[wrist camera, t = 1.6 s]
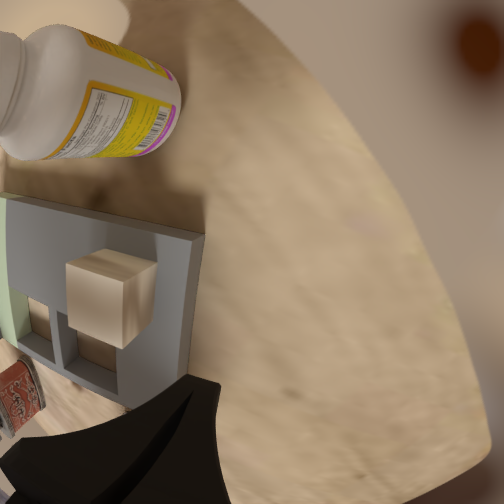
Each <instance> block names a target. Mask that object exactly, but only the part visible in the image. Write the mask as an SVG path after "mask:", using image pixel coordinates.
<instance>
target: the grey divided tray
mask: <svg viewBox="0 0 504 504" xmlns="http://www.w3.org/2000/svg"><path fill="white" fill-rule="evenodd" d="M204 239H205V234H201V233H197V232H192V231H187V230H183V229H178V228H174V227H169V226H164V225H160V224H155V223H150V222H146V221H141V220H136V219H132V218H127V217H122V216H118V215H113V214H108V213H103V212H99V211H94V210H89V209H85V208H80V207H75V206H70V205H65V204H61V203H56V202H51V201H46V200H41V199H37V198H32V197H27V196H22V195H17V194H12V193H7V192H0V339H1V338H3V339H5V340H6V341H8V342H9V343H11V344H12V345H14V346H15V347H16V348H18V349H19V350H21V351H22V352H24V353H26V354H27V355H29V356H30V357H32V358H33V359H35V360H37V361H38V362H40V363H42V364H43V365H45V366H47V367H48V368H50V369H52V370H53V371H55V372H57V373H59V374H60V375H62V376H64V377H66V378H68V379H70V380H71V381H73V382H75V383H77V384H79V385H81V386H83V387H85V388H87V389H89V390H91V391H93V392H95V393H97V394H99V395H101V396H103V397H105V398H108V399H110V400H112V401H114V402H116V403H119V404H121V405H123V406H126V407H128V408H130V409H135V408H137V407H138V406H140V405H142V404H144V403H145V402H147V401H149V400H150V399H152V398H153V397H155V396H156V395H158V394H159V393H161V392H162V391H164V390H165V389H166V388H168V387H169V386H171V385H172V384H173V383H175V382H176V381H177V380H178V379H180V378H181V377H182V376H183V375H185V374H187V368H188V359H189V350H190V341H191V333H192V325H193V317H194V309H195V301H196V294H197V286H198V279H199V272H200V265H201V259H202V252H203V245H204ZM105 248H106V249H109V250H113V251H117V252H120V253H124V254H128V255H131V256H135V257H139V258H143V259H146V260H150V261H154V262H158V265H157V275H156V286H155V299H154V313H153V321H152V322H151V323H150V324H149V325H148V326H147V327H146V328H145V329H144V330H142V331H141V332H140V333H139V334H138V335H137V336H136V337H135V338H134V339H133V340H132V341H131V342H130V343H129V344H128V345H127V346H126V347H124V348H123V349H120V348H118V347H115V348H116V370H117V373H114V372H112V371H110V370H107V369H105V368H103V367H101V366H98V365H96V364H94V363H92V362H90V361H88V360H86V359H83V358H81V357H79V352H78V343H77V331H76V330H75V329H73V328H71V327H69V326H68V313H67V295H66V263H67V262H70V261H73V260H75V259H78V258H80V257H83V256H86V255H88V254H91V253H94V252H96V251H99V250H102V249H105ZM27 296H28V297H30V298H32V299H34V300H36V301H38V302H40V303H42V304H44V305H46V306H48V308H49V319H50V327H51V335H52V342H50V341H48V340H46V339H45V338H43V337H41V336H39V335H38V334H36V333H34V332H32V329H31V322H30V315H29V307H28V297H27Z"/></svg>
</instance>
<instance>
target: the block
mask: <svg viewBox="0 0 504 504" xmlns="http://www.w3.org/2000/svg"><path fill="white" fill-rule="evenodd" d="M157 265H158V262H154V261H150V260H146V259H143V258H139V257H135V256H131V255H128V254H124V253H120V252H117V251H113V250H109V249H106V248H105V249H102V250H99V251H96V252H94V253H91V254H88V255H86V256H83V257H80V258H78V259H75V260H73V261H70V262H67V263H66V295H67V313H68V326H69V327H71V328H73V329H75V330H78V331H80V332H82V333H84V334H87V335H89V336H91V337H93V338H96V339H98V340H101V341H103V342H105V343H108V344H110V345H113V346H115V347H118V348H120V349H123V348H124V347H126V346H127V345H128V344H129V343H130V342H131V341H132V340H133V339H134V338H135V337H136V336H137V335H138V334H139V333H140V332H141V331H142V330H144V329H145V328H146V327H147V326H148V325H149V324H150V323H151V322H152V321H153V313H154V299H155V286H156V275H157Z"/></svg>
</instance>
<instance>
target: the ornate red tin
mask: <svg viewBox="0 0 504 504" xmlns="http://www.w3.org/2000/svg"><path fill="white" fill-rule="evenodd" d="M45 407H46V404H45V397H44V393H43V389H42V386H41V383H40V380H39V377H38V374H37V372H36V369H35V367H34V365H33V363H32V362H31V361H30V359H28V358H27V357H25V356H22V357H21V358H19V359H18V360H17V362H16V363H15V364H13V365H12V366H10V367H9V368H8V369H6V370H5V371H3V372H2V373H0V429H1V430H2V432H3V433H4V434H5V435H6V436H7V437H9V438H13V437H14V436H15V433H16V431H18V430H19V429H20V428H21V427H22V426H23V425H24V424H25V423H26V422H27V421H28V420H30V419H31V418H32V417H33V416H34V415H35V414H36V413H37V412H38V411H41V410H43V409H44V408H45ZM1 440H2V437H1V436H0V441H1Z"/></svg>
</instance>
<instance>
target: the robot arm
mask: <svg viewBox="0 0 504 504" xmlns="http://www.w3.org/2000/svg"><path fill="white" fill-rule="evenodd" d="M220 391H221V385H220V384H219V383H216V382H213V381H209V380H206V379H202V378H199V377H195V376H192V375H189V374H185V375H183V376H182V377H181V378H180V379H178V380H177V381H176V382H175V383H173V384H172V385H171V386H169V387H168V388H166V389H165V390H164V391H162V392H161V393H159V394H158V395H156V396H155V397H153V398H152V399H150V400H149V401H147V402H145V403H144V404H142V405H140V406H138V407H137V408H135V409H133V410H131V411H129V412H128V413H124V414H123V415H121V416H119V417H117V418H115V419H112V420H110V421H108V422H105V423H102V424H99V425H96V426H93V427H90V428H87V429H84V430H80V431H75V432H71V433H66V434H60V435H54V436H45V437H28V438H21V439H20V440H19V441H18V442H16V443H15V444H14V445H13V446H12V447H11V448H10V449H9V450H8V451H7V452H6V453H5V454H4V455H3V456H2V457H1V458H0V468H1V470H2V471H3V473H4V474H5V476H6V477H7V478H8V480H9V481H10V483H11V484H12V486H13V487H14V488H15V490H16V491H15V492H14V493H13V494H12V496H11V497H10V496H8V495H7V494H6V493H5V492H4V491H3V490H1V489H0V504H231V502H230V499H229V496H228V493H227V490H226V486H225V483H224V480H223V476H222V471H221V467H220V462H219V456H218V450H217V441H216V412H217V407H218V402H219V396H220Z"/></svg>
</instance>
